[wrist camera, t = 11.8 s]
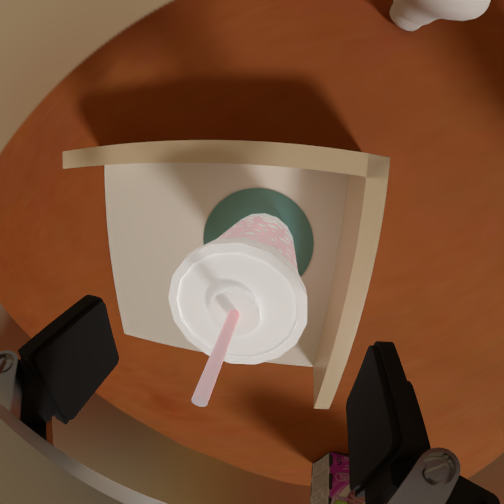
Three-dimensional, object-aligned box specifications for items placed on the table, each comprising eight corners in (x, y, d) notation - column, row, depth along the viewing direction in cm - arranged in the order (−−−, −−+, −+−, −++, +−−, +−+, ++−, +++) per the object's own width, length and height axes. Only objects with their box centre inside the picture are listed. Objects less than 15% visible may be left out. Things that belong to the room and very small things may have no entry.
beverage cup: (268, 184, 18) (198, 260, 5) (321, 253, 19) (350, 422, 6) (203, 236, 20) (78, 359, 7) (254, 297, 21) (203, 461, 8)
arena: (364, 156, 17) (390, 157, 12) (325, 363, 24) (328, 409, 18) (108, 148, 20) (62, 151, 15) (127, 330, 26) (99, 363, 21)
